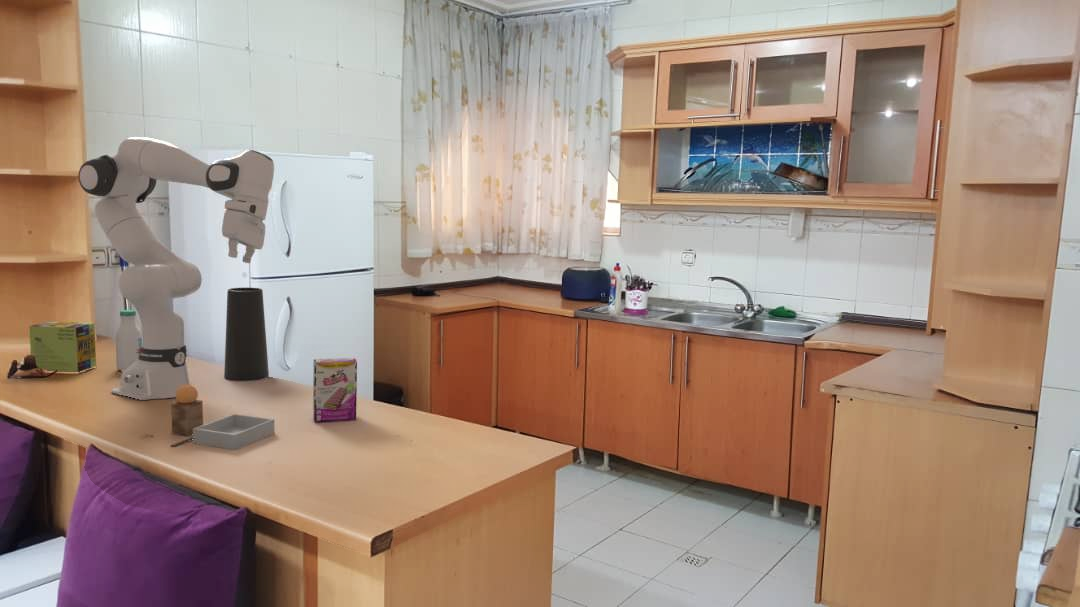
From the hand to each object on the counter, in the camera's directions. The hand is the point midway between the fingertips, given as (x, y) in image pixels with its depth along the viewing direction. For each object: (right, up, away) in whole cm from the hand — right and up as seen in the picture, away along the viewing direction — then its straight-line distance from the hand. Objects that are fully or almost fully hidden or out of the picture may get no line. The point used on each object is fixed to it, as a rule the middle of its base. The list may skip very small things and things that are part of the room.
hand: (239, 260), depth 204 cm
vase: (-16, -36, +45) cm, 60 cm away
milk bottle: (-56, -34, +50) cm, 83 cm away
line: (-2, -44, -16) cm, 47 cm away
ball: (-7, -34, -16) cm, 39 cm away
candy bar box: (+26, -43, 0) cm, 50 cm away
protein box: (-76, -34, +46) cm, 95 cm away
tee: (-7, -44, -15) cm, 47 cm away
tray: (+6, -45, -18) cm, 49 cm away
